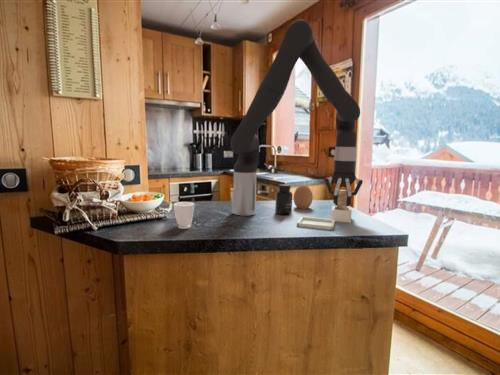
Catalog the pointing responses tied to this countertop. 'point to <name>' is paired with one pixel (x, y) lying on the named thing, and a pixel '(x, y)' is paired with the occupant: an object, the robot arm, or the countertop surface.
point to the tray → (316, 223)
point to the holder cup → (341, 214)
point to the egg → (303, 197)
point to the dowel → (342, 200)
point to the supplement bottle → (283, 200)
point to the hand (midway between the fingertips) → (341, 205)
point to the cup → (184, 214)
